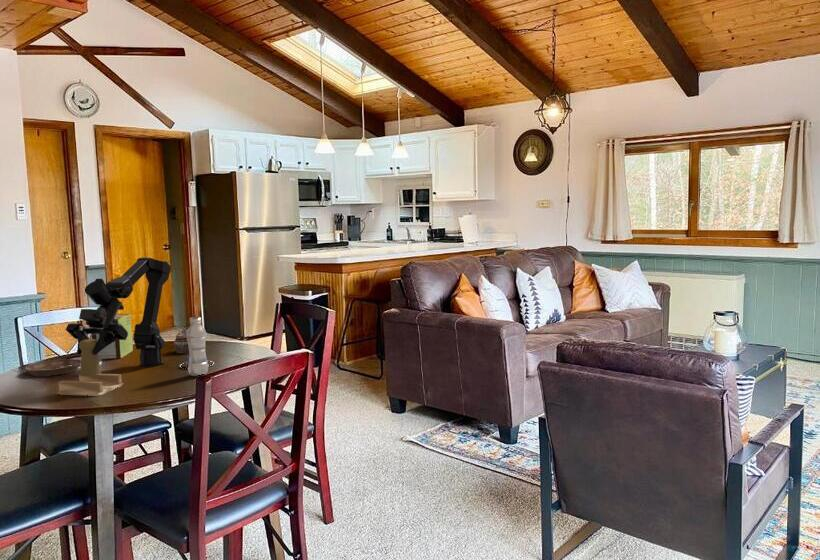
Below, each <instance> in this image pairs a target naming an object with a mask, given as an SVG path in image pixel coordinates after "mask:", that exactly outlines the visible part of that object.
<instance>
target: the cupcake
mask: <svg viewBox="0 0 820 560" xmlns="http://www.w3.org/2000/svg"><path fill="white" fill-rule="evenodd" d="M189 327H190V326H185V328H184V327H181V329H180V330H179V331H178V334H176V335H175V339H174V341H173V342H174V346H175V350H176V353H177V352H178V353H189V347H188V341H187V337H186V333H187V330H188V328H189ZM178 353H177V354H178Z"/></svg>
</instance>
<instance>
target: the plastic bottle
mask: <svg viewBox="0 0 820 560" xmlns="http://www.w3.org/2000/svg"><path fill="white" fill-rule="evenodd" d="M188 327H189V328H188V330H187V333H186V337H187V341H188V347H189V365H188V369H187V371H188V374H189V375H190V376H192V377H199V376H198V375H201V374H205V375H207V374H208V372H209V364H208V363H207V361H208V358H207V359H206V357H207V353H206V340H207V331H206V329H205V327H204V326H203V325H202V317H200V316H194V317H190V318H189V326H188ZM206 373H207V374H206Z"/></svg>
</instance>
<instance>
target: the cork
mask: <svg viewBox="0 0 820 560" xmlns="http://www.w3.org/2000/svg"><path fill="white" fill-rule="evenodd" d="M96 343H97V341H96V340H95V339H92V338H89V339H85V340H82V341H80V343H79V348H80V350H81V354H80V360H81V364H80V366H79V367H80V369H79V370H80V371H79V374H80V375H81V376H92V375H97V374H102V368H101V364H100V360H98V355H97V354H96V355H94V354H93V350H94V347H95V345H96Z"/></svg>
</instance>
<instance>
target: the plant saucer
mask: <svg viewBox="0 0 820 560" xmlns="http://www.w3.org/2000/svg"><path fill="white" fill-rule="evenodd" d="M68 365H72V366H68ZM53 366H60V368H56V369H44V368H49V367H53ZM64 366H66V367H64ZM67 366H68V367H67ZM79 367H81V359H78V358H63V359H62V358H61V359H51V360H45V361H40V362H35V363H32V364H31V363H30V364H29V365H26V366H25V367H24V370H25V371H27V373H28V374H29V375H32V376H33V375H34V377H51V376H50V375H55V376H59V375H58V374H61V375H65V374H64V373H66V374H69V372H70V373H73V372H75V371H77V370H78V369H79ZM72 371H73V372H72Z"/></svg>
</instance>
